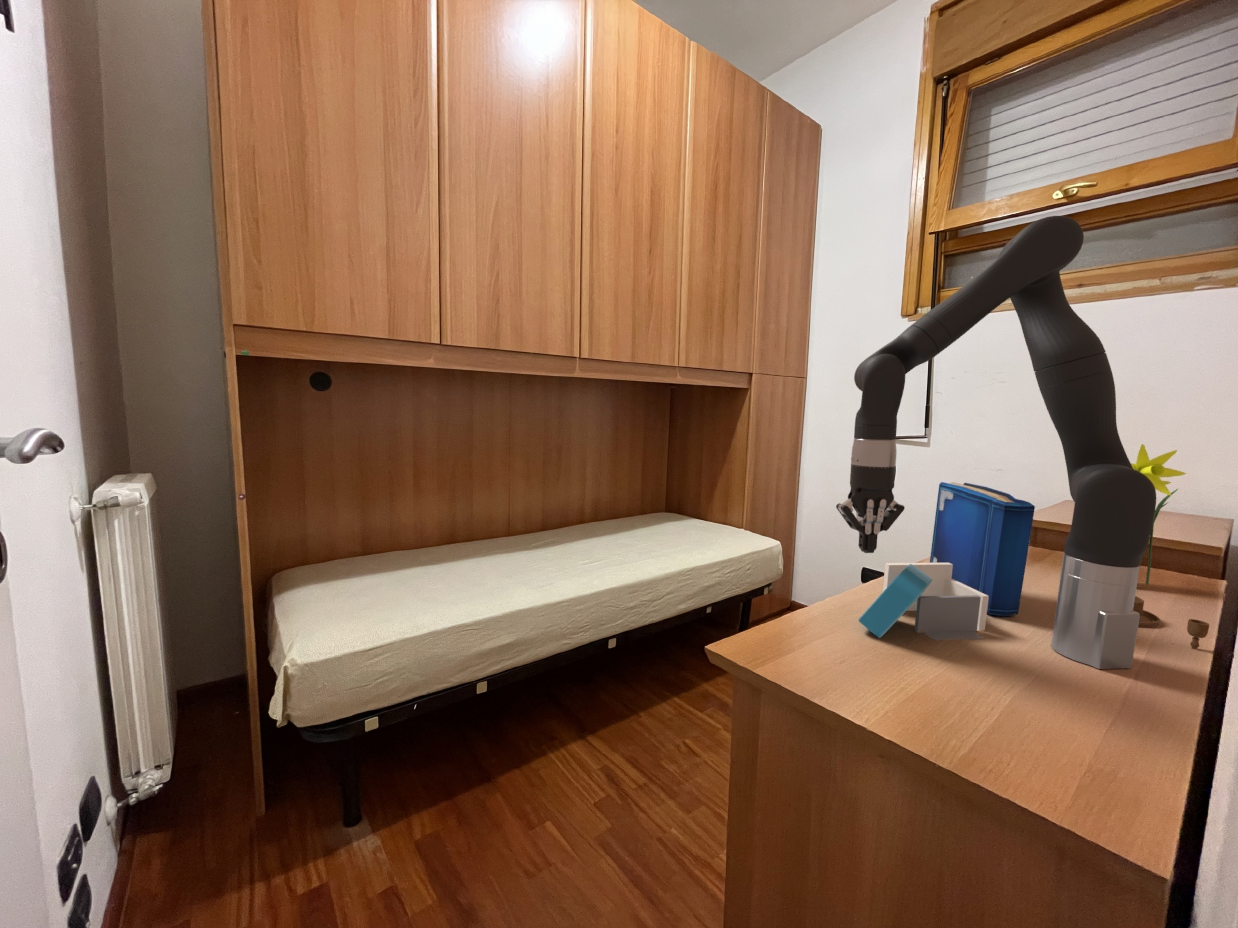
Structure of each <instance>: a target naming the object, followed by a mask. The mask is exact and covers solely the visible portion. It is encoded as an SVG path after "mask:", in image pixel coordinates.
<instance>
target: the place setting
mask: <svg viewBox="0 0 1238 928" xmlns="http://www.w3.org/2000/svg"><path fill="white" fill-rule="evenodd" d="M1144 604H1145V600H1143V598H1141V597H1139V596H1136V595H1135V601H1134V607H1133V611H1135V612H1138V613H1139V614H1140V616H1143V617H1145V618H1147V619H1148V620H1150V619H1151V621H1149V622H1147V621H1146V622H1145V621H1139V624H1138V628H1154V627H1157V626H1159V624H1160V623H1161V622H1160V621H1161V620H1160V619H1161V618H1159V616H1157V615H1156V614H1154V613H1152V612H1150V611H1149V610H1148V611H1147V610H1146V609H1144V606H1145V605H1144ZM1152 620H1153V621H1154V622H1153V621H1152ZM1186 629H1187V634H1188V635H1190V637H1191V639H1192V640H1191V641H1190V644H1189V645H1190V646H1191V647H1190V648H1191V649H1192V650H1195V649H1197V650H1198V648H1199V647H1200V639H1204V638H1206V637H1207V636H1208V633H1209V629H1210V623H1208V622H1206V621H1203V620H1199V619H1194V618H1189V619H1188V620H1187V627H1186Z"/></svg>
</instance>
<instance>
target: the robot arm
mask: <svg viewBox="0 0 1238 928" xmlns="http://www.w3.org/2000/svg"><path fill="white" fill-rule="evenodd" d="M1082 228H1083V227H1082V226H1081V224H1079V222H1077V221H1076V220H1074V218H1071V217H1069V216H1066V215H1051V216H1046V217H1043V218H1040V219H1037V220H1036V221H1034V222H1032V223H1029V224H1028V225H1027V226H1026V227H1024V228H1022V229H1021V230H1020V231H1019V232H1018V233H1017V234H1015V236H1013V237H1012V238H1011V239H1010V240H1009V241H1008V242H1007V243H1006V244H1005V245H1004V246H1003V248H1002V249H1001V251H1000V252H999V255H998V257H997V258H996V260H994V261H993V262H992V263H991V264H990V265H989V266H988V267H986V269H984V270H983V271H982V272H980V273H979V274H978V275H977V276H976V277H974V278H973V279H972V280H970V281H969V282H968V283H966V284H965V285H964V286H962V287H961V288H959V289H958V290H957V291H955V292H954V293H952V294H951V295H949V296H948V297H947V298H945V299H944V300H943V301H941V302H940V303H938V304H937V305H936V306H934V307H933V308H931V309H930V310H928V311H927V312H926V313H925V314H924V315H922V316H920V318H918V319H917V320H916V321H915V322H913V323H912V324H911V325H909V326H908V327H907V328H906V329H905V330H904V331H902V332H901V333H900V334H899V335H898V336H897V337H895V338H894V339H893V340H891V341H890V342H888V343H887V344H885V345H884V346H882V347H881V348H879V349H877V351H875V352H873V353H872V354H871V355H869V356H867V357H866V358H865V359H864V360H863V361H861V363H860V364H859V365H858V366H857V368H856V369H855V372H854V374H853V375H854V377H853V381H854V384H855V386H856V387H857V389H858V390H859V391H861V392H862V393H861V403H860V407H859V409H858V410H857V412H856V414H855V419H854V435H853V444H852V447H851V455H850V456H851V458H850V473H849V475H850V476H849V477H850V478H849V486H850V491H849V493H848V495H847V499H846V500H845V501H844V502H842V503H837V504H836V505H835V508H836V510H837V511H838V513H839V514H840V515H841V516H842V518H843V520H844V521H845V522H846V523H847V525H848V526H849V528H850V529H852V530H855V531H857V532H858V547H859V549H860V550H861V552H862V553H864V554H874V553H875V551H876V550H877V547H878V535H879V533H881V532H883V531H884V532H888V530H889V529H890V528H891V527H892V526H893V524H894V523H895V522H896V521H897V520H898V518H899V517H900V515H901V514H902V513H903V512H904V510H905V506H904V505H903V504H899V502H897V501H896V500H895V495H894V493H893V489H894V488H895V480H896V479H895V477H896V464H897V443H896V442H897V440H896V439H897V430H898V429H897V428H898V413H899V409H900V406H901V402H902V398H903V395H904V390H905V385H906V374H908V373H910V372H911V371H912V370H913V369H914V368H916V367H918V366H920V365H922V364H925V363H927V362H928V361H930V360H932V359H933V358H935V357H936V356H937V355H939V354H940V353H942V352H943V351H945V349H947V348H948V347H949V346H951V345H953V344H954V343H955V342H956V341H957V340H959V338H961V337H962V336H964V335H965V334H966V333H967V332H969V330H971V329H972V328H973V327H975V326H976V325H977V324H978V323H979V322H980V321H982V320H983V319H985V318H986V317H987V316H988V315H989V314H990V313H992V312H993V311H994V310H995V309H996V308H998V307H999V306H1000V305H1002V304H1003V303H1004V302H1006V301H1008V300H1010V301H1011V303H1012V305H1013V308H1014V310H1015V312H1016V314H1017V317H1018V320H1019V323H1020V327H1021V331H1022V334H1023V335H1022V336H1023V338H1024V341H1025V345H1026V348H1027V350H1028V354H1029V357H1030V360H1031V365H1032V369H1033V372H1034V375H1035V379H1036V382H1037V385H1038V388H1039V392H1040V395H1041V397H1042V399H1043V402H1044V405H1045V407H1046V409H1047V410H1046V411H1047V413H1048V415H1049V417H1050V419H1051V422H1052V423H1053V426H1054V428H1055V430H1056V432H1057V434H1058V437H1059V440H1060V442H1061V446H1062V450H1063V456H1064V460H1065V461H1064V462H1065V467H1066V473H1067V478H1068V479H1067V480H1068V487H1069V488H1068V489H1069V493H1070V496H1071V499H1072V500H1073V502H1074V506H1073V513H1072V519H1071V525H1070V530H1069V533H1068V536H1067V537H1066V539H1065V544H1064V549H1063V555H1062V563H1061V569H1060V570H1061V571H1060V579H1059V585H1058V592H1057V599H1056V600H1057V601H1056V606H1055V613H1054V621H1053V627H1052V628H1053V629H1052V636H1051V645H1050V646H1051V648H1052V649H1053V650H1054V651H1055V652H1057V653H1058V654H1060V655H1062V656H1063V657H1066V658H1068V659H1070V660H1073V661H1076V662H1078V663H1083V664H1085V665H1088V666H1091V667H1093V668H1095V669H1097V670H1107V669H1108V670H1109V669H1110V670H1111V669H1115V670H1116V669H1132V666H1133V660H1134V654H1135V649H1136V648H1135V647H1136V641H1137V637H1138V636H1137V635H1138V628H1139V627H1138V624H1139V622H1140V616H1141V615H1140V614H1139V613H1138V612H1135V611H1133V607H1134V601H1135V596H1136V595H1137V589H1138V588H1137V587H1138V582H1139V581H1138V580H1139V576H1138V575H1140V571H1139V569H1141V566H1140V564H1141V565H1142V562H1141V558H1142V555H1143V554H1145V553H1146V551H1147V549H1148V546H1149V543H1150V533H1151V529H1152V524H1153V519H1154V513H1155V510H1156V508H1157V506H1156V505H1157V490H1156V489H1155V487H1154V485H1153V483H1152V482H1151V480H1150V479H1149V478H1148V477H1147V476H1145V475H1144V474H1142V473H1141V472H1139V471H1137V470H1134V469H1133V467H1132V465H1131V462H1130V460H1129V456H1128V454H1127V453H1126V450H1125V448H1124V446H1123V443H1122V441H1121V438H1120V434H1119V431H1118V425H1117V396H1116V395H1117V394H1116V387H1115V386H1116V383H1115V381H1114V375H1113V371H1112V367H1111V364H1110V362H1109V358H1108V355H1107V353H1106V352H1107V351H1106V349H1105V347H1104V345H1103V342H1102V341H1101V339H1100V337H1098V334H1096V332H1095V331H1094V330H1093V329H1092V328H1091V327H1090V326H1089V325H1088V324H1087V323H1086V322H1085V320H1083V319H1082V318H1081V317H1080V316H1079V315H1078V314H1077V313H1076V312H1075V310H1074V309H1073V308H1072V306H1071V305H1070V303H1069V301H1068V299H1067V297H1066V293H1065V290H1064V286H1063V283H1062V279H1061V273H1060V271H1062V270H1063V269H1065V268H1066V267H1067V266H1069V264H1071V262H1073V261H1074V260H1075V258H1077V256H1078V255H1079V252H1080V251H1081V250H1082V247H1083V244H1084V237H1085V235H1084V230H1083V229H1082ZM854 511H855V512H856V513H855V514H856V515H855V514H854ZM1143 556H1144V555H1143ZM1142 559H1143V558H1142Z"/></svg>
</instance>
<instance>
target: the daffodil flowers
mask: <svg viewBox="0 0 1238 928" xmlns="http://www.w3.org/2000/svg"><path fill="white" fill-rule="evenodd" d="M1147 451H1148V450H1146V446H1145V445H1144V444H1143V443H1142V444H1141V445H1140V449H1139V450H1138V453H1137V456H1136V457H1137V458H1136V462H1135V463H1131V462H1130V463H1131V465H1132V467H1133V469H1134V470H1137V471H1139V472H1141V473H1142V474H1144V475H1145V476H1147V477H1148V478H1149V479H1150V480H1151V482H1152V483H1153V485H1154V487H1155V490H1156V491H1158V492H1160V493H1162V494H1165V495H1166V496H1164V498H1162V500H1161V501H1160V502H1159V503H1158V504H1157V506H1156V507H1155V513H1154V519H1153V524H1152V529H1151V533H1150V538H1149V543H1148V546H1149V547H1148V560H1147V567H1146V568H1147V570H1146V578H1145V585H1147V586H1149V582H1150V576H1151V575H1150V573H1151V565H1152V550H1153V539H1154V538H1153V537H1154V526H1155V522H1156V520H1157V518H1158V515H1159V513H1160V511H1161V509H1163V507H1165V506H1166V505H1167V504H1168V502H1166V501H1167V500H1168V499H1169V498H1171V496H1172V495H1173V494H1175V493H1176V492H1177V491H1178V490H1179V488H1176V489H1175V490H1173V491H1172V492H1170V490H1169V489H1168V487H1167V486H1166V485H1170V484H1171V483H1172V482H1171V481H1169V480H1168V481H1167V480H1162V479H1161V478H1172V477H1179V476H1184V475H1186V474H1187V473H1186V472H1184V471H1181V470H1178V469H1173V468H1169V467H1165V466H1163V465H1165V463H1167V462H1168V460H1170V459H1171V457H1174V455H1175V454H1176V453H1177V451H1178V450H1177V449H1175V450H1171V451H1169V452H1166V453H1163V454H1160V455H1158V456H1157V457H1154V458H1152V459H1150V458H1149V454H1148V452H1147ZM1144 554H1145V553H1144ZM1144 554H1143V555H1142V558H1141V564H1140V567H1141V565H1142V561H1143V557H1144ZM1140 569H1141V568H1140ZM1140 569H1139V572H1140ZM1139 575H1140V574H1139ZM1139 575H1138V577H1139Z"/></svg>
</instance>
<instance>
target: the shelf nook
mask: <svg viewBox="0 0 1238 928" xmlns="http://www.w3.org/2000/svg"><path fill="white" fill-rule="evenodd" d="M909 564H912V565H913V566H915V567H916V568H918V569H919V570H920V571H922V572H923V573H924V574H926V575H927V576H929V577H930V578H931V579H932V582H931V583H930V584H929V585H928V587H927V588H926V589H925V591H924V592H923V593H922V594H921V596H920V597H919V598H918V599H917V600H916V601H915V602H914V603H913V604H912V605H911V606H910V607H909V608H908V610H907V611H909V612H911V611H912V612H913V611H914V612H915V621H914V622H915V623H914V632H915V633H920V634H924V635H925V636H927V637H929V638H930V639H931V640H933V641H948V640H949V641H950V640H951V641H952V640H953V641H954V640H956V641H957V640H960V641H961V640H985V639H986V638H985V637H983V636H981V635H980V634H978V633H977V631H985V630H986V625H987V624H986V623H987V616H988V615H987V614H988V613H987V607H988V599H989V596H988V595H986V594H983V593H981V592H979V591H977V590H975V589H973V588H971V587H969V586H966V585H964V584H962V583H960V582H958V581H956V580H954V579H952V578H951V577H952V568H953V564H951V563H930V562H888V563H887V562H886V563H885V565H884V575H883V584H882V585H883V587H882V593H883V592H884V590H885V589H886V588H887V587H888V586H889V585H890V584H891V583H892V582H893V580H894V579H895V578H896V577H897V576H898V575H899V574H900V573H901V572H902V571H903V570H904V569H905V568H906V567H907V566H908V565H909ZM907 611H906V612H907Z"/></svg>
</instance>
